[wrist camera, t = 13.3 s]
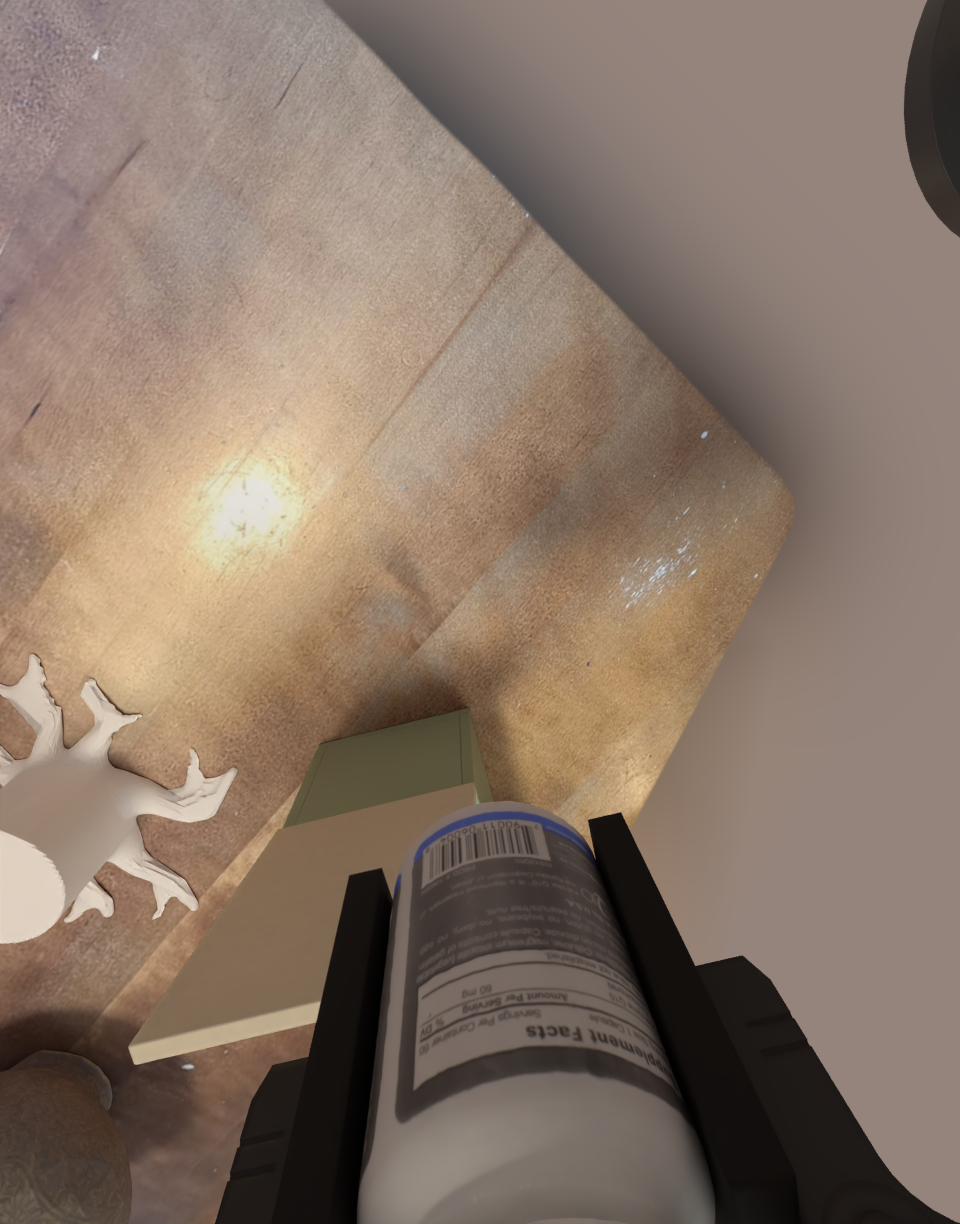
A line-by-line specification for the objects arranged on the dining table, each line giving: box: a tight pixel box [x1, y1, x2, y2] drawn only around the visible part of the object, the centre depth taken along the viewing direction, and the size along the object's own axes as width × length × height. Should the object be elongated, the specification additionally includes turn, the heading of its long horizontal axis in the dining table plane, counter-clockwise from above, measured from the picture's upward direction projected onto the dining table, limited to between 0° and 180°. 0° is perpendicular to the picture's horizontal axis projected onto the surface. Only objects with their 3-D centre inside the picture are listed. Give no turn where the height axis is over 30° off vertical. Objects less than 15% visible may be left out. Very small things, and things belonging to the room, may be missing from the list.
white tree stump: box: [0, 654, 237, 944], centre depth 42 cm, size 23×25×9 cm
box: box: [283, 708, 494, 828], centre depth 43 cm, size 15×13×11 cm
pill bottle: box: [357, 801, 715, 1224], centre depth 9 cm, size 5×5×8 cm
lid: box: [128, 783, 476, 1065], centre depth 27 cm, size 15×13×1 cm
